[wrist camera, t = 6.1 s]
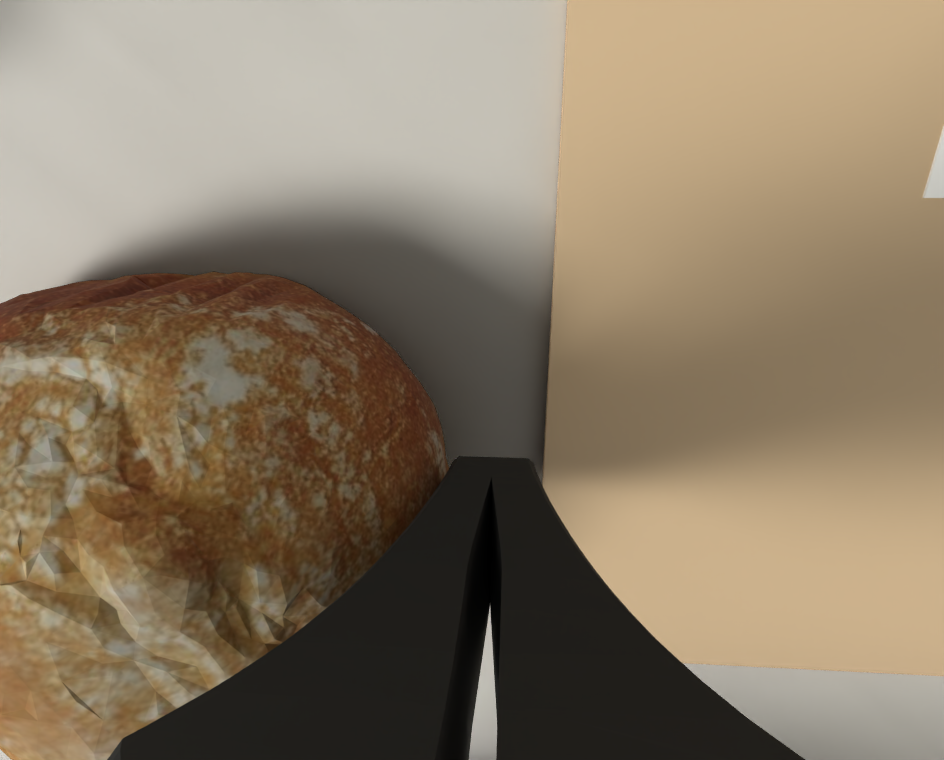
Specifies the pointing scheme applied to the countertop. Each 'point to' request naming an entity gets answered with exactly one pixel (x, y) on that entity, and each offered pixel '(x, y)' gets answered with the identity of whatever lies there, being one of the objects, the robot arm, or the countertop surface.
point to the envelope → (755, 326)
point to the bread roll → (185, 490)
